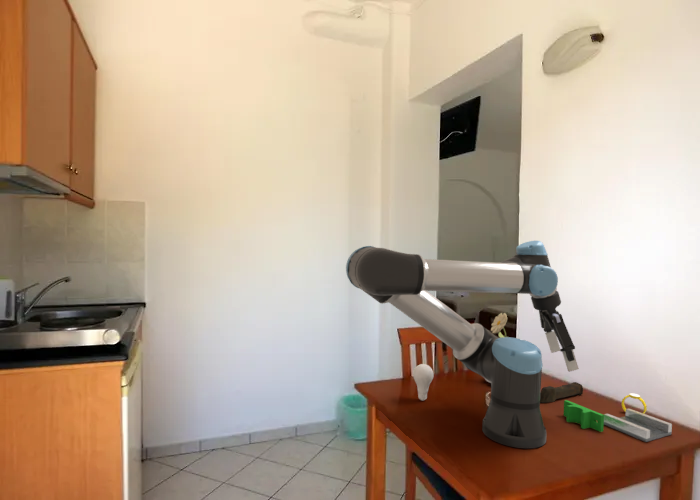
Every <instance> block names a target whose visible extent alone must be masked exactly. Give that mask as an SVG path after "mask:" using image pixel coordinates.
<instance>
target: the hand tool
mask: <svg viewBox="0 0 700 500" xmlns="http://www.w3.org/2000/svg"><path fill="white" fill-rule="evenodd" d="M583 394H584V386H583V385H582V384H581V383H579V382H577V381H573V382H571V383H570V384H569V383H567V384H563V385H560V386H556V387H554V386H551V385H548V386H543V387H541V392H540V404H541V403H543V404H545V403H548V404H549V403H553V402H556V401H557V400H558V399H564V398H566V397H571V396H576V395H578V396H582V395H583Z"/></svg>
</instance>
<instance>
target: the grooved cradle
mask: <svg viewBox="0 0 700 500" xmlns="http://www.w3.org/2000/svg"><path fill="white" fill-rule="evenodd" d="M603 415H604V426H605V427H609V428H610V429H613V430H616V431H619V432H621V433H623V434H626V435H628V436H630V437H633V438H635V439H637V440H639V441H643V442H645V443H647V442H651V441H654V440H658V439H661V438H665V437H668V436H671V435H672V430H673V429H672V427H673V424H672V423H671V422H668V421H665V420H662V419H660V418H657V417H654V416H652V415H648V414H647V413H645V414H643V412H640V411H637V410H634V409H632V408H626V412H625V414H624V415H625V416H621V417H618V416H615V415H612V414H610V413H604V414H603Z"/></svg>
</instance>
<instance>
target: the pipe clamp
mask: <svg viewBox="0 0 700 500" xmlns="http://www.w3.org/2000/svg"><path fill="white" fill-rule="evenodd" d="M562 416H564V417H566V418H565V419H566V422H567V423H576V424H579V425H580V428H581V429H582V430H584V429H585V430H586V429H589V428H590V429H593V430H595V431H598V432H599V433H602V432H604V428H605V427H604V426H605V425H604V414H603V413H600V412H598V411H595V410H592V409H591V408H589V407H588V408H587V407H585V406H583V405H580V404H578V403H575V402H573V401H570V400H567V399H565V400H563V415H562Z"/></svg>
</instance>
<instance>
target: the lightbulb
mask: <svg viewBox="0 0 700 500" xmlns="http://www.w3.org/2000/svg"><path fill="white" fill-rule="evenodd" d="M434 374H435V373H434V371H433V369H432V367H431V366H430V365H429V364H426V363H420V364H419V365H416V366H415V367H414V369H413V372H412V375H413V376H412V377H413V380H414V382H415V384H416V386H417V387H416V389H417V395H418V396H417V397H418V399H419V400H420V401H425V400H427V398H428V392H429V387H430V385H431V383H432V381H433V379H434Z"/></svg>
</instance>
